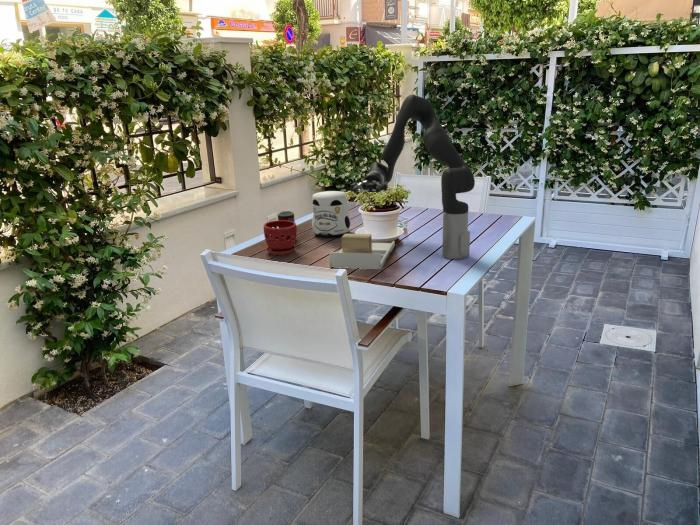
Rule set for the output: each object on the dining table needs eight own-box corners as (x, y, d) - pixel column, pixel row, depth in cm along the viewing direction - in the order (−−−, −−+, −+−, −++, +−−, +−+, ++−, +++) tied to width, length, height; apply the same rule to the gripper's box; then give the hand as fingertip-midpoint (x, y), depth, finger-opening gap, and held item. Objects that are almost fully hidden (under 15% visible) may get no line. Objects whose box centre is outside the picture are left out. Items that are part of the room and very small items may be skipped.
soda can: (299, 238, 236) (297, 211, 232) (289, 242, 231) (287, 215, 227) (286, 236, 240) (284, 210, 236) (276, 241, 234) (274, 213, 230)
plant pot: (268, 258, 211) (265, 229, 207) (263, 249, 223) (261, 221, 219) (301, 254, 214) (299, 225, 210) (295, 245, 226) (292, 218, 222)
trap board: (349, 244, 225) (349, 230, 223) (394, 245, 220) (394, 231, 218) (329, 267, 197) (329, 252, 196) (380, 270, 193) (380, 254, 191)
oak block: (346, 259, 202) (344, 233, 199) (372, 260, 200) (371, 234, 196) (342, 263, 197) (341, 237, 194) (369, 264, 195) (368, 238, 192)
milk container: (318, 241, 231) (315, 200, 225) (308, 231, 247) (305, 192, 241) (356, 236, 236) (354, 195, 230) (344, 227, 252) (342, 189, 246)
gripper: (356, 172, 220) (347, 181, 205) (390, 171, 216) (383, 180, 202) (357, 190, 222) (348, 200, 208) (391, 190, 219) (384, 200, 204)
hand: (365, 190), depth 205 cm, fingers open, 8 cm apart
